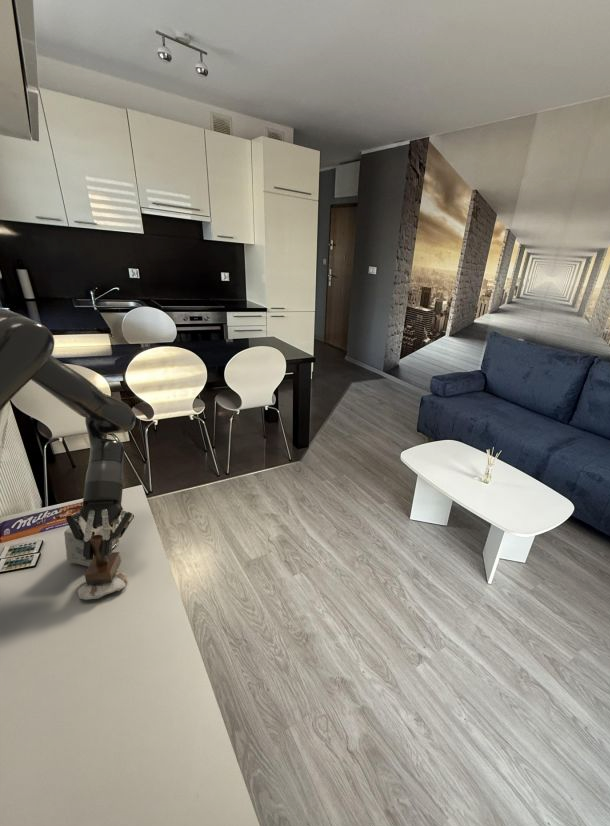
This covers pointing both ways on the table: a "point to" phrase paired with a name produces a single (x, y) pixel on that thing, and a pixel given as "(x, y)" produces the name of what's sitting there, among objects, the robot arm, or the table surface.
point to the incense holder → (82, 544)
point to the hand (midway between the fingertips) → (96, 558)
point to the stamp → (101, 564)
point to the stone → (101, 587)
